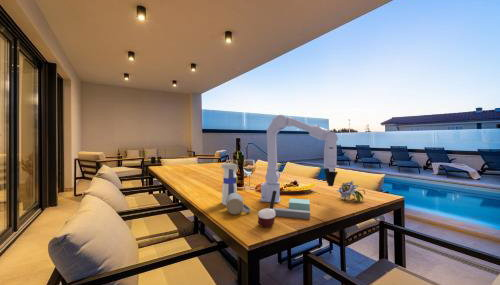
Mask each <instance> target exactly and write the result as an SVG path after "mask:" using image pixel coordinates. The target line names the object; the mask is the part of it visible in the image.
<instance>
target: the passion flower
mask: <svg viewBox="0 0 500 285" xmlns="http://www.w3.org/2000/svg"><path fill="white" fill-rule="evenodd" d="M358 187H359V184H355V185H354V180H351V181H350V182H349V181H348V182H343V183H341V186H340V187H339V189H338V190H336V192H337V193H340V198H342V200H343V201H344V200H346V199H347V200H349V199H350V198H351V196H353V198H354V199H357V200H356V201H357V202H359V203H361V199H362V201H364V196H363V194H365V195H366V192H365V189H360V190H358V189H357V188H358ZM361 191H363V194H362V193H361Z"/></svg>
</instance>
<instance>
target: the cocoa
mask: <svg viewBox="0 0 500 285" xmlns="http://www.w3.org/2000/svg"><path fill="white" fill-rule="evenodd" d="M275 196H276V191H273V193H272V198H271V202H269V206H268V208H263V209H261V210H259V211H258V213H257V216H258V217H257V219H258V221H257V224H258V225H259V226H261V227H263V228H270V227H272V226H273V225H274V223H275V221H276V216H275V215H276V213H275V210H274V209H273V208H274V205H275V202H274V201H275Z"/></svg>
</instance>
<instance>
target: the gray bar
mask: <svg viewBox="0 0 500 285" xmlns="http://www.w3.org/2000/svg"><path fill="white" fill-rule="evenodd" d="M273 209H274V210H275V213H276V215H275V217H281V218H282V217H284V218H294V219H303V220H304V219H306V220H311V211H304V210H293V209H289V208H282V207H280V208H279V207H273Z"/></svg>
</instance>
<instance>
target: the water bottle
mask: <svg viewBox="0 0 500 285" xmlns="http://www.w3.org/2000/svg"><path fill="white" fill-rule="evenodd" d="M236 156H237V158H239V153H238V152H237V154H236ZM221 168H222V169H223V174H222V178H223V180H222V185H221V186H222V188H221V189H222V190H221V191H222V192H221V193H222V194H221V204H222V205H224V206H226V199H227V197H228V195H230V194H231V193H238V191H237V190H238V189H237V188H238V186H237V184H238V175H237V173H236V172H237V168H238V164H236V163H234V162H233V163H232V162H231V163H230V162H228V163H227V162H224V163H222V164H221Z"/></svg>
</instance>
